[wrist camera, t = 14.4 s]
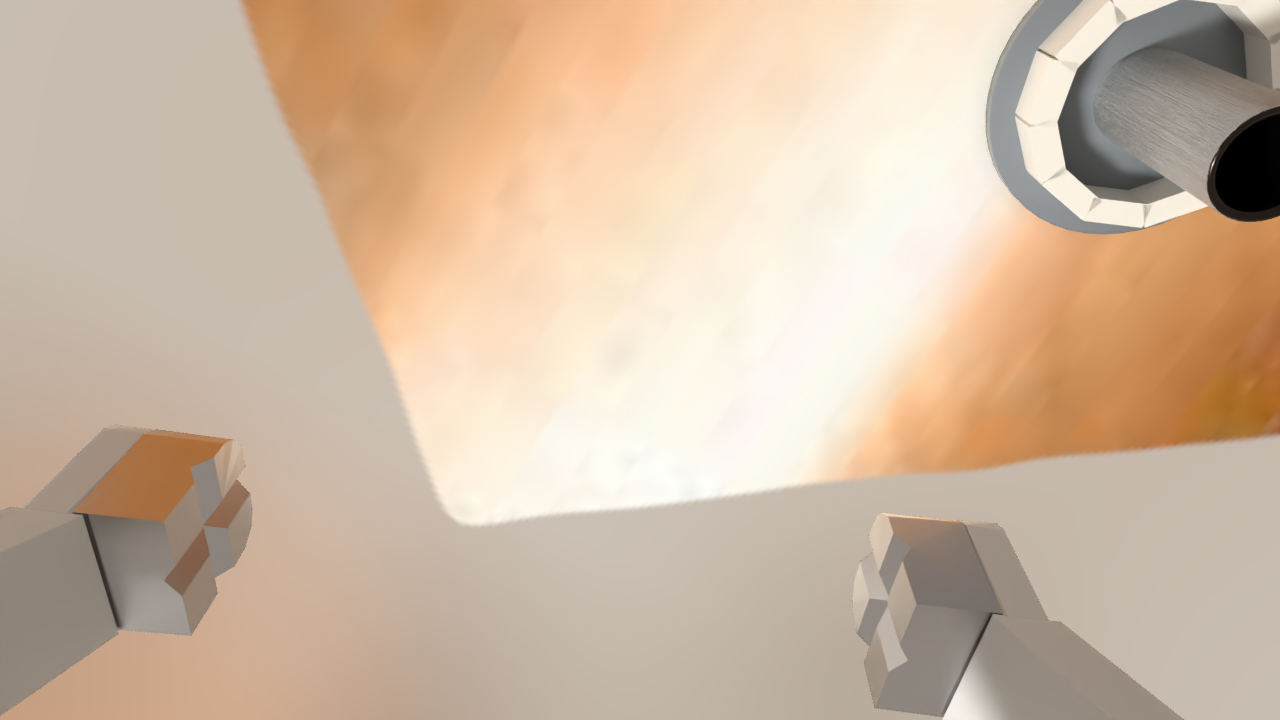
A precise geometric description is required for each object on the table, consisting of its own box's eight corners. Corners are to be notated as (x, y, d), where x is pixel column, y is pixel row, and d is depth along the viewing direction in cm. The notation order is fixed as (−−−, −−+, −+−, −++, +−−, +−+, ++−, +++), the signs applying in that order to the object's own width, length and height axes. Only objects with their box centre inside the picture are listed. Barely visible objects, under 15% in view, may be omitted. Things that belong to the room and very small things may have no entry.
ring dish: (1045, -89, 37) (1071, -85, 34) (1354, -48, 37) (1401, -41, 35) (949, 211, 44) (965, 232, 42) (1208, 242, 44) (1239, 265, 42)
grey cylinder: (1166, 25, 38) (1313, 77, 30) (1208, 100, 40) (1359, 171, 31) (1073, 92, 40) (1186, 160, 31) (1117, 162, 42) (1236, 245, 33)
